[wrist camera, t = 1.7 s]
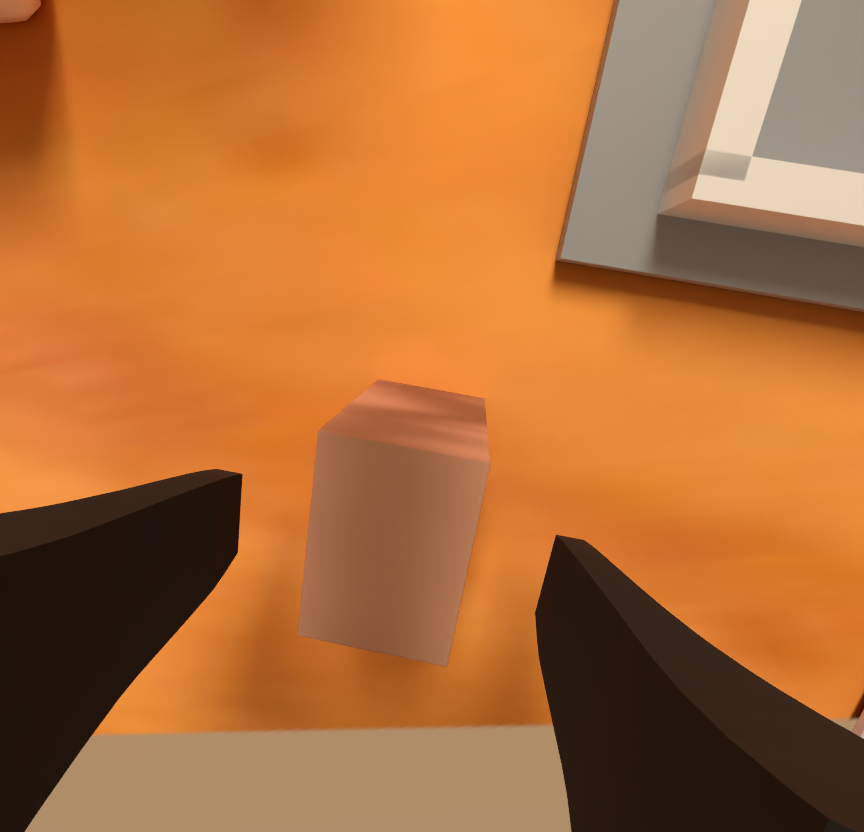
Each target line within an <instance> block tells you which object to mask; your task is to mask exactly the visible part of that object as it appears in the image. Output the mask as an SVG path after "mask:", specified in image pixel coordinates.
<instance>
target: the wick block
mask: <svg viewBox="0 0 864 832" xmlns="http://www.w3.org/2000/svg"><path fill="white" fill-rule="evenodd" d="M489 467H490V454H489V444H488V433H487V423H486V412H485V402H484V398H479V397H474V396H468V395H462V394H457V393H451V392H446V391H440V390H435V389H429V388H424V387H418V386H413V385H407V384H402V383H396V382H391V381H385V380H380V379H379V380H378V381H376V382H375V383H374V384H373V385H372V386H370V387H369V388H368V389H367V390H366V391H365V392H363V393H362V394H361V395H360V396H359V397H358V398H356V399H355V400H354V401H353V402H352V403H350V404H349V405H348V406H347V407H346V408H345V409H343V410H342V411H341V412H340V413H339V414H338V415H336V416H335V417H334V418H333V419H332V420H330V421H329V422H328V423H327V424H326V425H325V426H323V427H322V428H321V429H320V430H319V431H318V439H317V449H316V459H315V469H314V478H313V488H312V498H311V507H310V517H309V527H308V537H307V546H306V556H305V566H304V575H303V585H302V595H301V605H300V614H299V624H298V634H297V636H302V637H307V638H312V639H316V640H321V641H326V642H331V643H336V644H340V645H345V646H350V647H355V648H359V649H364V650H369V651H374V652H379V653H383V654H388V655H393V656H398V657H403V658H407V659H412V660H417V661H422V662H426V663H431V664H436V665H441V666H446V667H447V664H448V660H449V655H450V650H451V645H452V641H453V636H454V631H455V627H456V622H457V617H458V613H459V608H460V603H461V599H462V594H463V589H464V584H465V580H466V575H467V570H468V566H469V561H470V556H471V552H472V547H473V542H474V537H475V533H476V528H477V523H478V519H479V514H480V509H481V505H482V500H483V495H484V491H485V486H486V481H487V476H488V472H489Z"/></svg>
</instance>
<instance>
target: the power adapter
mask: <svg viewBox="0 0 864 832" xmlns="http://www.w3.org/2000/svg"><path fill="white" fill-rule="evenodd" d="M40 6H41V0H0V23H11V22H20V21H27V19H28V18H29V17H30V16H31V15H32V14H33V13H34V12H35V11H36V10H37V9H38V8H39V7H40Z"/></svg>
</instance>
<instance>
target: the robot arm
mask: <svg viewBox="0 0 864 832" xmlns="http://www.w3.org/2000/svg"><path fill="white" fill-rule="evenodd" d="M241 487H242V474H240V473H234V472H229V471H224V470H219V469H213V470H205V471H199V472H194V473H189V474H185V475H181V476H176V477H172V478H168V479H164V480H160V481H156V482H152V483H148V484H144V485H140V486H136V487H132V488H128V489H124V490H120V491H115V492H110V493H106V494H101V495H97V496H92V497H88V498H83V499H79V500H74V501H70V502H65V503H60V504H55V505H50V506H44V507H38V508H33V509H26V510H20V511H13V512H7V513H1V514H0V832H25V830H26V829H27V827H28V825H29V824H30V823H31V821H32V819H33V818H34V817H35V815H36V814H37V812H38V811H39V809H40V808H41V806H42V805H43V804H44V802H45V801H46V799H47V798H48V796H49V795H50V794H51V792H52V791H53V789H54V788H55V786H56V785H57V784H58V782H59V781H60V779H61V778H62V776H63V775H64V773H65V772H66V771H67V769H68V768H69V766H70V765H71V764H72V762H73V761H74V759H75V758H76V756H77V755H78V754H79V752H80V750H81V749H82V748H83V747H84V745H85V744H86V742H87V741H88V740H89V738H90V737H91V736H92V734H93V733H94V732H95V730H96V729H97V727H98V726H99V725H100V723H101V722H102V721H103V719H104V718H105V717H106V715H107V714H108V713H109V711H110V710H111V708H112V707H113V706H114V704H115V703H116V702H117V700H118V699H119V698H120V696H121V695H122V694H123V693H124V692H125V690H126V689H127V688H128V687H129V685H130V684H131V683H132V682H133V681H134V679H135V678H136V677H137V676H138V675H139V673H140V672H141V671H142V670H143V669H144V668H145V667H146V666H147V664H148V663H149V662H150V661H151V660H152V659H153V658H154V657H155V655H156V654H157V653H158V652H159V651H160V650H161V649H162V647H163V646H164V645H165V644H166V643H167V642H168V641H169V640H170V638H171V637H172V636H173V635H174V634H175V633H176V632H177V631H178V629H179V628H180V627H181V626H182V625H183V624H184V623H185V622H186V620H187V619H188V618H189V617H190V616H191V615H192V614H193V612H194V611H195V610H196V609H197V608H198V607H199V606H200V604H201V603H202V602H203V601H204V600H205V599H206V597H207V596H208V595H209V594H210V593H211V592H212V590H213V589H214V588H215V586H216V585H217V583H218V582H219V580H220V579H221V578H222V576H223V575H224V573H225V572H226V570H227V569H228V567H229V565H230V564H231V562H232V561H233V559H234V558H235V556H236V554H237V553H238V539H239V522H240V505H241ZM535 616H536V631H537V643H538V654H539V660H540V665H541V670H542V675H543V680H544V684H545V689H546V694H547V699H548V703H549V708H550V713H551V717H552V722H553V726H554V731H555V736H556V740H557V745H558V750H559V754H560V759H561V763H562V769H563V774H564V780H565V785H566V791H567V798H568V806H569V814H570V822H571V831H572V832H864V710H863V712H862V714H861V715H860V717H859V719H858V721H857V723H856V725H855V727H854V729H853V731H852V732H851V731H849V730H847V729H845V728H843V727H841V726H840V725H838V724H836V723H834V722H833V721H831V720H829V719H827V718H826V717H824V716H822V715H821V714H819V713H817V712H816V711H814V710H812V709H811V708H809V707H807V706H806V705H804V704H802V703H801V702H799V701H797V700H796V699H794V698H792V697H791V696H789V695H787V694H786V693H784V692H782V691H781V690H779V689H777V688H776V687H774V686H773V685H771V684H769V683H768V682H766V681H765V680H763V679H762V678H760V677H758V676H757V675H755V674H754V673H752V672H751V671H749V670H748V669H746V668H745V667H743V666H742V665H740V664H739V663H738V662H736V661H735V660H733V659H732V658H730V657H729V656H727V655H726V654H724V653H723V652H722V651H720V650H719V649H717V648H716V647H714V646H713V645H712V644H710V643H709V642H707V641H706V640H705V639H703V638H702V637H701V636H699V635H698V634H697V633H695V632H694V631H693V630H691V629H690V628H689V627H688V626H686V625H685V624H684V623H683V622H681V621H680V620H679V619H677V618H676V617H675V616H674V615H672V614H671V613H670V612H669V611H667V610H666V609H665V608H664V607H662V606H661V605H660V604H659V603H658V602H656V601H655V600H654V599H653V598H652V597H650V596H649V595H648V594H647V593H646V592H645V591H643V590H642V589H641V588H640V587H639V586H638V585H636V584H635V583H634V582H633V581H632V580H631V579H630V578H628V577H627V576H626V575H625V574H624V573H623V572H622V571H621V570H619V569H618V568H617V567H616V566H615V565H614V564H613V563H611V562H610V561H609V560H608V559H607V558H606V557H605V556H603V555H602V554H601V553H600V552H599V551H598V550H596V549H595V548H594V547H593V546H591V545H590V544H589V543H587V542H586V541H584V540H581V539H575V538H570V537H565V536H560V535H556V537H555V541H554V544H553V548H552V552H551V556H550V559H549V563H548V567H547V571H546V574H545V578H544V582H543V586H542V589H541V593H540V597H539V600H538V604H537V608H536V612H535Z"/></svg>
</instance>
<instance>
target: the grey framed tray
mask: <svg viewBox="0 0 864 832" xmlns="http://www.w3.org/2000/svg"><path fill="white" fill-rule="evenodd" d="M556 261H561V262H567V263H573V264H579V265H585V266H591V267H597V268H603V269H609V270H615V271H621V272H627V273H633V274H639V275H645V276H651V277H657V278H663V279H669V280H675V281H681V282H687V283H693V284H699V285H705V286H711V287H717V288H723V289H729V290H735V291H741V292H747V293H753V294H758V295H764V296H770V297H776V298H782V299H788V300H794V301H800V302H806V303H812V304H818V305H824V306H830V307H836V308H842V309H848V310H854V311H860V312H864V0H614V4H613V9H612V13H611V18H610V22H609V27H608V31H607V35H606V40H605V44H604V49H603V53H602V57H601V62H600V66H599V71H598V75H597V80H596V84H595V88H594V93H593V97H592V102H591V106H590V110H589V115H588V119H587V124H586V128H585V133H584V137H583V141H582V146H581V150H580V155H579V159H578V163H577V168H576V172H575V177H574V181H573V185H572V190H571V194H570V199H569V203H568V208H567V212H566V216H565V221H564V225H563V230H562V234H561V238H560V243H559V247H558V252H557V256H556Z"/></svg>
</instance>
